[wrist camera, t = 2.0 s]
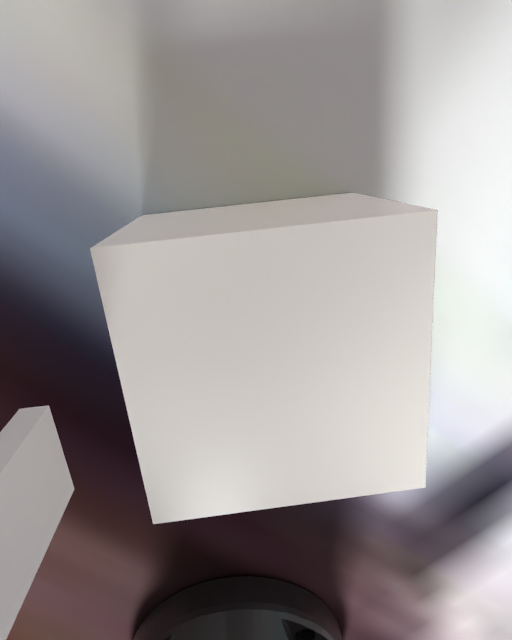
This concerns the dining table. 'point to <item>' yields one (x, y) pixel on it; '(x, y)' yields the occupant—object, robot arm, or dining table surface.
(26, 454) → the robot arm
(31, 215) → the dining table surface
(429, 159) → the dining table surface
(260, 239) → the white box
